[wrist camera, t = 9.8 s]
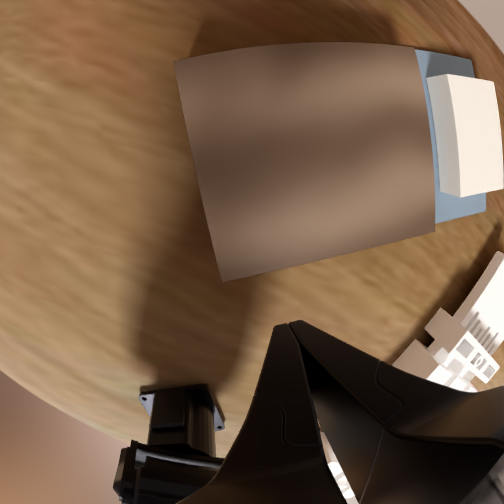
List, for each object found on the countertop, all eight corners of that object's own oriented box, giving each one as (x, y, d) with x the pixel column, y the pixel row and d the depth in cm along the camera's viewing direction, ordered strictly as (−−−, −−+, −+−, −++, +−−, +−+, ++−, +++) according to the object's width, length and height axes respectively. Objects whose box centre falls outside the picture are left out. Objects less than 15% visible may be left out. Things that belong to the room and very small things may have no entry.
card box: (460, 197, 18) (439, 190, 20) (503, 188, 18) (483, 183, 21) (446, 73, 15) (425, 78, 17) (493, 81, 15) (472, 83, 17)
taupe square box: (403, 216, 21) (435, 231, 17) (220, 256, 20) (221, 282, 17) (383, 59, 17) (414, 47, 13) (181, 78, 16) (173, 61, 12)
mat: (482, 209, 22) (485, 211, 22) (413, 226, 21) (416, 228, 21) (468, 60, 17) (471, 59, 17) (391, 48, 16) (393, 47, 16)
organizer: (280, 494, 26) (517, 254, 19) (273, 463, 31) (483, 238, 23) (350, 498, 30) (538, 311, 23) (341, 473, 35) (514, 294, 27)
